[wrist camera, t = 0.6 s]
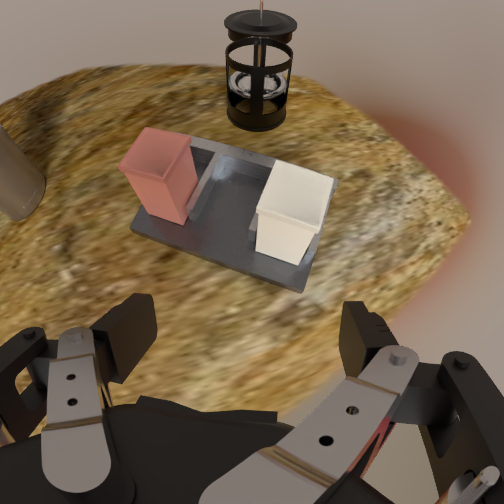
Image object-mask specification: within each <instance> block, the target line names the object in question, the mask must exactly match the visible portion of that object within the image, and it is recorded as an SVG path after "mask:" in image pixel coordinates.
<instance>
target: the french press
mask: <svg viewBox="0 0 504 504" xmlns="http://www.w3.org/2000/svg"><path fill="white" fill-rule="evenodd" d="M224 25H225V27H226V28H227V29H228V36H229V38H230V39H231V40H232V41H234V42H233V43H231V44H229V46H228V47H227V48H226V53H225V54H226V75H227V94H228V108H227V115H228V118H229V120H230V121H231V122H232V123H233V124H234V125H235V126H237V127H239V128H241V129H243V130H247V131H253V132H263V131H268V130H272V129H274V128H276V127H278V126H279V125H281V124H282V122H283V121H284V120H285V117H286V101H287V95H288V88H289V80H290V73H291V66H292V59H293V51H292V49H291V48H290V47H289V46H288V45H286V44H287V43H289V42H290V41H291V39H292V32H294V31H295V30H296V29H297V22H296V21H295V20H294V19H293V18H291V17H290V16H288V15H286V14H283V13H279V12H275V11H269V10H263V0H260V10H246V11H240V12H236V13H234V14H231V15H229V16H228V17H227V18H226V19H225V20H224ZM252 36H253V37H252ZM248 37H249V38H248ZM267 37H268V38H267ZM246 45H254V65H253V66H249V65H244V64H241V63H238V62H236V61H234V60H232V59H231V58H230V57H229V53H230V52H231V51H233V50H234V49H236V48H239V47H242V46H246ZM266 45H268V46H273V47H276V48H278V49H281V50H282V51H284V52H286V53H287V54H288V55H289V57H290V59H289V60H288V61H286V62H284V63H282V64H279V65H275V66H266V67H265V57H266ZM229 66H230V67H231V68H232V69H234V70H236V72H235V73H234V74H232V75H231V77H230V78H229ZM288 68H289V70H288V77H287V81H286V79H285V77H284V76H283V75H282V74H280V72H283V71H285V70H287V69H288ZM230 88H231V90H230ZM285 89H286V91H285ZM284 91H285V92H284ZM245 99H248V100H250V114H248V113H244V112H242V111H239V110H238V109H236V106H237V104H239V103H240V102H241V101H243V100H245ZM265 100H269V101H271V102H273V103H274V104H275V105H276V106H277V108H278V110H277V111H275V112H273V113H269V114H263V115H262V111H263V101H265Z"/></svg>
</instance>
